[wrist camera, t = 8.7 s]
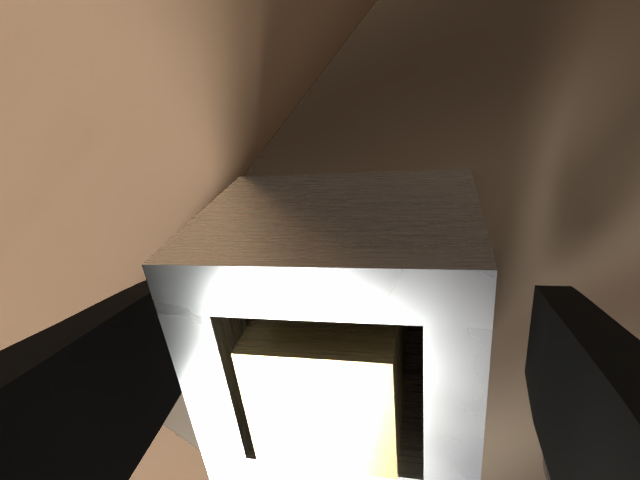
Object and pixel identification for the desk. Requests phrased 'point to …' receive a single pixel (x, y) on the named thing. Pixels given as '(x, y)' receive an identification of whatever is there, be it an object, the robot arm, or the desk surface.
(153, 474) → the desk surface
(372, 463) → the pale yellow square peg
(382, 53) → the tan board
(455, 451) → the steel collar
